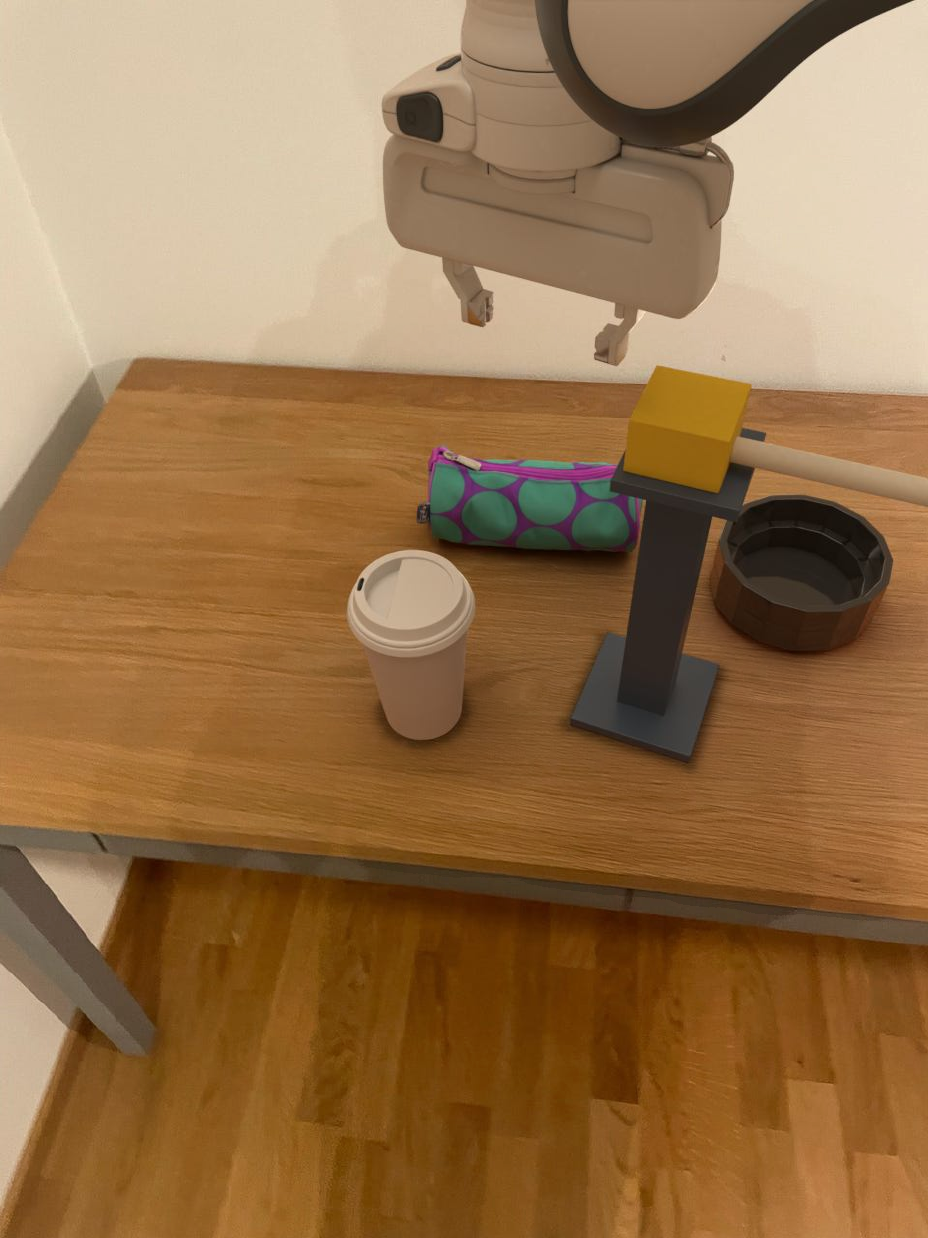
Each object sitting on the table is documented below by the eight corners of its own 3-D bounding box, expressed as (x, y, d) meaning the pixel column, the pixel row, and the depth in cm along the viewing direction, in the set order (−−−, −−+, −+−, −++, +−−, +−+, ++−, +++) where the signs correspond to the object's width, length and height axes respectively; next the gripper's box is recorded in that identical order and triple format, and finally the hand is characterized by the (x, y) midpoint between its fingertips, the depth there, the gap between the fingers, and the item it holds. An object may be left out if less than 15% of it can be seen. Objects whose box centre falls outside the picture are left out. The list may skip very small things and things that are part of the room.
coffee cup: (406, 649, 83) (390, 526, 71) (500, 690, 79) (498, 568, 68) (345, 726, 77) (316, 607, 66) (442, 774, 74) (429, 657, 63)
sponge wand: (955, 483, 56) (981, 429, 53) (946, 548, 52) (973, 495, 49) (649, 416, 61) (656, 364, 58) (622, 471, 58) (628, 419, 55)
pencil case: (420, 559, 90) (412, 484, 83) (434, 498, 96) (427, 423, 88) (636, 574, 88) (647, 497, 80) (637, 511, 93) (647, 434, 86)
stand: (718, 671, 80) (785, 426, 60) (688, 763, 74) (752, 525, 54) (606, 638, 83) (636, 394, 63) (569, 724, 77) (589, 485, 57)
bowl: (881, 563, 87) (901, 516, 83) (859, 676, 79) (880, 631, 74) (728, 525, 91) (740, 479, 87) (692, 629, 83) (702, 583, 78)
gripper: (763, 114, 46) (717, 357, 56) (419, 56, 53) (435, 279, 64) (716, 164, 42) (677, 412, 53) (355, 94, 50) (383, 323, 60)
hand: (542, 339), depth 58 cm, fingers open, 8 cm apart
